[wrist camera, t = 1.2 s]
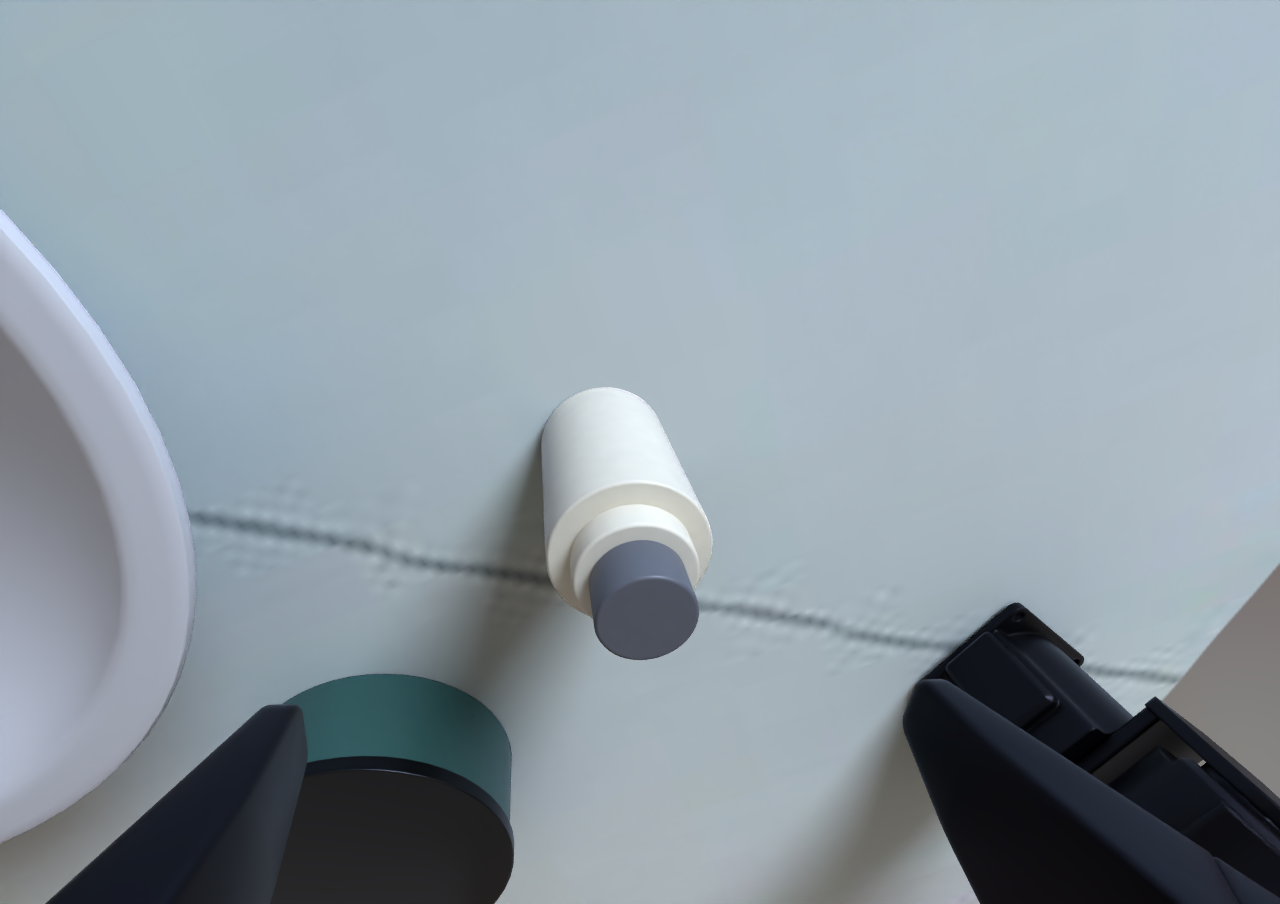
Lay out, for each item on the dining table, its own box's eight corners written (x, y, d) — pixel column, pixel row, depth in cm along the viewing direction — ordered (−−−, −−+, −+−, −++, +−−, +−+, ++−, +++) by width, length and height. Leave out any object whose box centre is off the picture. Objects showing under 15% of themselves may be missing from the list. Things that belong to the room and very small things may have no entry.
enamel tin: (566, 731, 28) (572, 829, 24) (428, 873, 31) (412, 983, 27) (329, 628, 24) (287, 726, 20) (192, 804, 26) (130, 923, 22)
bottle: (686, 432, 22) (780, 596, 14) (611, 517, 24) (657, 718, 15) (592, 361, 21) (636, 501, 12) (516, 457, 22) (507, 645, 13)
